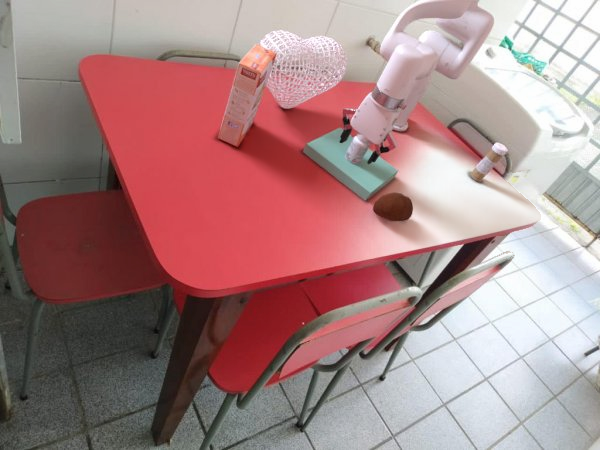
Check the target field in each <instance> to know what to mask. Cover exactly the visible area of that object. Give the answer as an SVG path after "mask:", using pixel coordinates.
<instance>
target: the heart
mask: <svg viewBox="0 0 600 450" xmlns="http://www.w3.org/2000/svg"><path fill="white" fill-rule="evenodd" d="M285 40H286V41H285ZM258 45H260V46H262V47H264V48H267V49H269V50H271V51H273V52H275V53H276V54H277V55H276V58H275V61H276V62H274V64H273V67H272V69H271V72H270V75H269V78H268V81H267V84H266V87H265V88H267V89H268V91H269V92H270V94H271V95H272V96H273V98H274V100H275V101H276V103H277V104H278V106H280V107H281V108H283V109H286V110H287V109H288V110H290V109H293V108H295V107H298V106H300V105H301V104H303V103H305V102H307V101H309V100H311V99H313V98H315V97H316V96H319V95H321V94H323V93H325V92H327V91H329V90H331V89H333V88H334V87H336V86H337V85H338V84H339V83H340V82H341V81H342V79H343V78H344V76H345V73H346V71H347V68H348V67H347V65H348V63H347V62H348V61H347V60H348V59H347V55H346V52H345V50H344V49H343V47H342V45H341V44H340V43H339V42H338V41H336V40H335V39H333V38H331V37H329V36H325V35H318V36H312V37H309V38H305V39H303V38H302V37H300V36H298V35H296V34H294V33H292V32H290V31H287V30H282V29H281V30H280V29H279V30H273V31H270V32H268V33H267V34H266V35H264V37H262V39H261V40H260V42H259V43H258ZM324 45H325V46H324ZM280 48H281V49H280ZM320 50H321V51H320ZM284 51H285V52H284ZM287 52H288V53H287ZM313 54H314V55H313ZM281 55H282V56H281ZM317 55H318V56H317ZM322 55H323V56H322ZM301 56H302V57H301ZM290 57H291V58H290ZM327 58H328V61H326V59H327ZM331 59H332V61H331ZM285 61H286V62H285ZM301 61H302V63H301ZM284 62H285V63H284ZM297 62H298V64H297ZM305 62H306V63H305ZM278 66H280V67H279V68H278ZM317 66H318V67H317ZM297 67H298V68H297ZM292 68H293V69H292ZM301 68H302V69H301ZM277 72H278V75H277ZM288 73H289V74H288ZM287 78H288V79H287ZM292 79H293V80H292Z"/></svg>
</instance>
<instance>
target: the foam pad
mask: <svg viewBox="0 0 600 450" xmlns="http://www.w3.org/2000/svg"><path fill="white" fill-rule="evenodd" d="M343 130H344V129H343V127H342V128H341V127H338V128H336V129H334V130H332V131H329V132H327V133H325V134H323V135H321V136H319V137H318V138H315V139H313V140H311V141H309V142H307V143H306V144H305V147H304V149H303V151H302V153H303V154H305V155H306V156H307V157H308V158H309V159H311V160H312V161H313V162H314V163H316V164H317V165H318V166H320V167H321V168H322V169H324V170H325V171H326V172H327V173H329V174H330V175H331V176H333V177H334V178H335V179H336V180H337V181H339V182H340V183H342V184H343V185H344V186H346V187H347V188H348V189H349V190H350V191H352V192H353V193H354V194H355V195H357V197H360V198H361V199H362V200H363V201H365V202H366V201H368V200H369V199H370V198H371V197H373V196H374V195H375V194H376V193H378V192H379V191H380V190H381V189H382V188H384V187H385V186H386V185H388V183H390V182H391V181H392V180H394V178H395V177H396V175H397V174H398V172H399V170H398V169H397V168H396V167H394V166H393V165H392V164H391V163H389V162H387V161H386V160H385V159H384V158H383V157H381V156H379V157H378V159H377V160H376V161H375V162H372V163H370V164H368V163H367V162H368V160H369V158H370V157H371V155H372V153H373V152H374V151H373V150H371V149H370V147H369V148H368V150H367V152H366V153H365V155H364V157H363V158H362V160H361V162H360V163H358V164H355V163H352V162H350V161H349V160H347V159H346V157H345V154H346V152H347V150H348V148H349V146H350V144H351V142H352V140H353V139H354V137H355V136H353V135H351V134H350V135H349V137H348V139H347V141H345V142H343V143H340V142H339V141H340V139H341V138H340V136H341V134H342V132H343Z"/></svg>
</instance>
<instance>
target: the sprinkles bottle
mask: <svg viewBox="0 0 600 450" xmlns="http://www.w3.org/2000/svg"><path fill="white" fill-rule="evenodd" d="M507 152H508V147H506V145H504V144H502V143H500V142H495V143H494V144H493V145H492V146H491V148H490V149H489V151H488V152H487V153H486V154H485V155H484V156H483V157H482V159H481V160H480V161H479V162H478V163H477V165H475V167H474V168H473V170H472V171H471V172H470V173H469V176H470V177H471V178H472V180H474V181H476V182H478V183H479V182H482V181H483V180H484V178H485V177H486V176H487V175H488V174H489V173H490V172H491V170H493V169H494V167H495V166H496V165H497V163H498V162H499V161H500V160H501V159H502V157H504V156H505V155H506V154H507Z"/></svg>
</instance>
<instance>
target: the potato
mask: <svg viewBox="0 0 600 450" xmlns="http://www.w3.org/2000/svg"><path fill="white" fill-rule="evenodd" d="M372 211H373V213H374V214H375V215H376V216H377V217H379V218H381V219H383V220H387V221H390V222H406V221H409V219H411V217H412V215H413V211H414V205H413V201H412V199H411V198H410V197H409V196H407V195H404V194H403V193H401V192H395V191H394V192H389V193H386V194H383V195H381V196H379V197H378V198H377V199H376V200H375V201H374V203H373V206H372Z"/></svg>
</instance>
